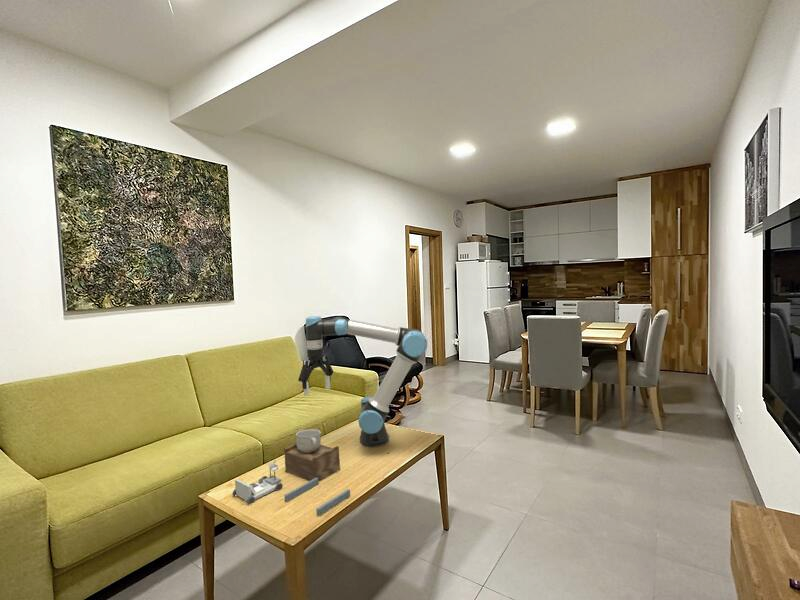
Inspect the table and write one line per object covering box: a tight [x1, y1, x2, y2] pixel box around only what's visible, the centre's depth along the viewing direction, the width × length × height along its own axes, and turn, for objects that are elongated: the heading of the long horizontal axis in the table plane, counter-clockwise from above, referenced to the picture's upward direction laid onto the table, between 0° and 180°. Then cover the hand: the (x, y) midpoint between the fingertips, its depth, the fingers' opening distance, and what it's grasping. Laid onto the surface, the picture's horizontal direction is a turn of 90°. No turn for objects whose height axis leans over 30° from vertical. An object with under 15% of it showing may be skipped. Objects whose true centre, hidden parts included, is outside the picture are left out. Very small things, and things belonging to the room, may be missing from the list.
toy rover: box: [232, 459, 283, 506], centre depth 162 cm, size 18×10×12 cm
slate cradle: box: [284, 478, 351, 517], centre depth 154 cm, size 16×19×2 cm
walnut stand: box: [283, 443, 341, 482], centre depth 178 cm, size 14×20×10 cm
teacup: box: [295, 428, 322, 453], centre depth 177 cm, size 14×11×8 cm
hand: (317, 392), depth 194 cm, fingers open, 13 cm apart
